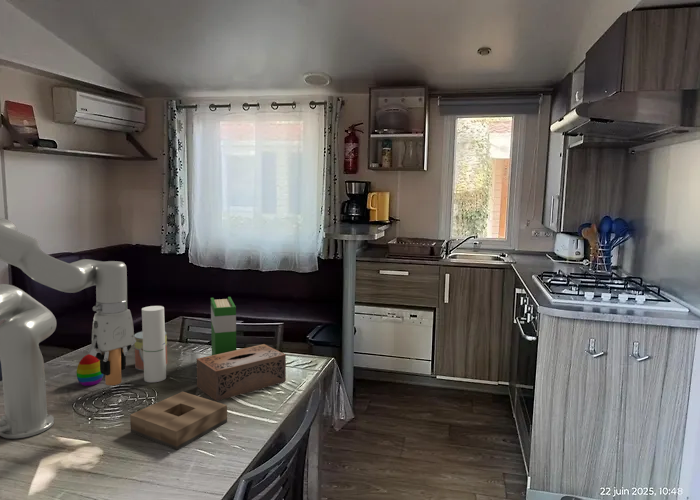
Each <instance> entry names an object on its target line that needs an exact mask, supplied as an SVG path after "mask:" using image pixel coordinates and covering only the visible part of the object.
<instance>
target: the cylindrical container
mask: <svg viewBox="0 0 700 500" xmlns="http://www.w3.org/2000/svg"><path fill="white" fill-rule="evenodd" d="M141 321H142V322H141V326H142V327H141V328H142V330H141V331H143V359H144V370H143V381H144V382H147V383H157V382H158V383H159V382H162V381H164V380H166V378H167V365H166V353H165V331H166V327H165V325H166V324H165V307H164V306H163V305H150V306H145V307H142V308H141Z"/></svg>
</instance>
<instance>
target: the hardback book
mask: <svg viewBox="0 0 700 500" xmlns="http://www.w3.org/2000/svg"><path fill="white" fill-rule="evenodd" d="M210 319H211V320H210V325H211V326H210V327H211V328H210V329H211V330H210V331H211V332H210V333H211V336H210V337H211V356H212V355H216V354H221V353H225V352H230V351H235V350H237V305H235V303H234V301H233V299H232V297H231V296H227V298H222V299H220V298H219V299H215V298H214V297H210Z"/></svg>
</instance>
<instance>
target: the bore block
mask: <svg viewBox="0 0 700 500" xmlns="http://www.w3.org/2000/svg"><path fill="white" fill-rule="evenodd" d="M129 421H130V424H129V425H130V433H132V434H134V435H137V436H140V437H141V438H144V439H148V440H149V441H153V442H155V443H158V444H159V445H162V446H165V447H168V448H170V449H173V450H175V451H179V449H182V448H183V447H185V446H187V445H188V444H191V443H193V442H195V441H196V440H198V439H199V438H201V437H203V436H205V435H206V434H209V433H210V432H212V431H214V430H215V429H217V428H218V427H221V426H223V425H224V424H226V423H228V404H224V403H221V402H218V401H215V400H211V399H208V398H205V397H201V396H199V395H195V394H192V393H188V392H186V391H181V392H179V393H176V394H174V395H172V396H169V397H167V398H165V399H163V400H160V401H158V402H156V403H153V404H150V405H148V406H147V407H143V408H142V409H140V410H138V411H136V412H133V413H131V414H129Z"/></svg>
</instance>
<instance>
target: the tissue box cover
mask: <svg viewBox="0 0 700 500" xmlns="http://www.w3.org/2000/svg"><path fill="white" fill-rule="evenodd" d="M286 358H287V356H286V353H283V352H282V351H279V350H278V349H276V348H274V347H271V346H269V345H267V344H265V343H263V344H257V345H253V346H249V347H244V348H240V349H236V350H235V351H230V352H225V353H221V354H216V355H212V354H211V355H208V356H203V357H198V358H196V387H197V388H198V389H199V390H200V391H202V392H203V393H205V395H207V396H209V397H210V398H211V399H213V401H215V402H218V401H222V400H226V399H229V398H233V397H236V396H239V395H244V394H247V393H250V392H251V393H252V392H254V391H258V390H261V389H264V388H268V387H270V386H275V385H278V383H279V384H282V383H285V381H287V380H286V378H287V376H286V375H287V373H286V368H287V367H286V365H287V363H286V361H287V359H286ZM281 382H282V383H281Z"/></svg>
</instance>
